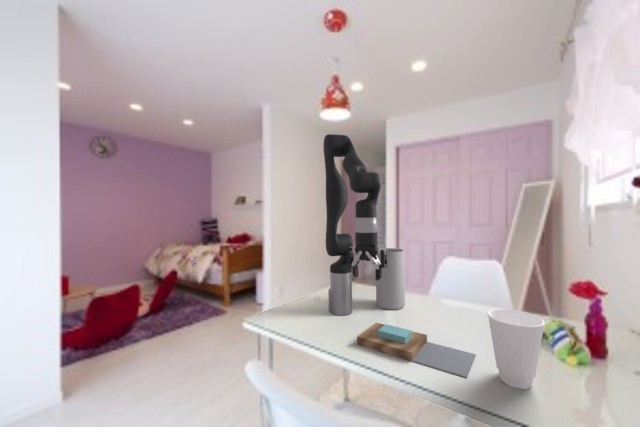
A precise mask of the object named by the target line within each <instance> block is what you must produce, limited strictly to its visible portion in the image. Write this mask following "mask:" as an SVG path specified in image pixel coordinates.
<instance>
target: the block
mask: <svg viewBox="0 0 640 427" xmlns="http://www.w3.org/2000/svg"><path fill="white" fill-rule="evenodd" d="M384 325H385V324H383V323H379V322H374V324H372V325H370V326H369V327H368V328H367V329H365V330H364V331H362V332H361V333H360V334H359V335H357V336H356V345H358V346H361V347H365V348H368V349H371V350H374V351H378V352H381V353H383V354H388V355H389V356H390V355H391V356H393V357H397V358H400V359H403V360H407V361H410V362H413V361H412V360H413V359H414V358H415V356H416V355H417V354H418V353H419V351H420V350H421V349H422V348H423V346H424V345H425V344H426V342H428V335H427V334H424V333H421V332H416V331H413V330H412V337H411V338H410V340H409V341H408V342H407V343H406V344H404V343H400V342H396V341H393V340H389V339H385V338H382V337H378V330H379V329H380V328H381V327H383V326H384Z"/></svg>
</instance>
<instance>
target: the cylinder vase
mask: <svg viewBox="0 0 640 427" xmlns="http://www.w3.org/2000/svg"><path fill="white" fill-rule="evenodd" d="M381 249H386V250H387V267H385V268H382V277H381V278H380V280H378V281H377V280H376V279H375V295H376V296H375V299H376V303H375V304H376V305H377V306H378V307H379V308H380V309H384V310H391V311H393V310H394V311H395V310H396V311H397V310H401V309H403V308H405V305H406V297H405V296H406V291H405V290H406V286H405V284H406V283H405V281H406V280H405V279H406V278H405V250H404V249H401V248H395V247H394V248H393V247H391V248H390V247H389V248H387V247H385V248H381ZM376 256H377V257H378V259H379V262H380V263H381V257H380V255H379V253H378V254H377V255H376Z"/></svg>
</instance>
